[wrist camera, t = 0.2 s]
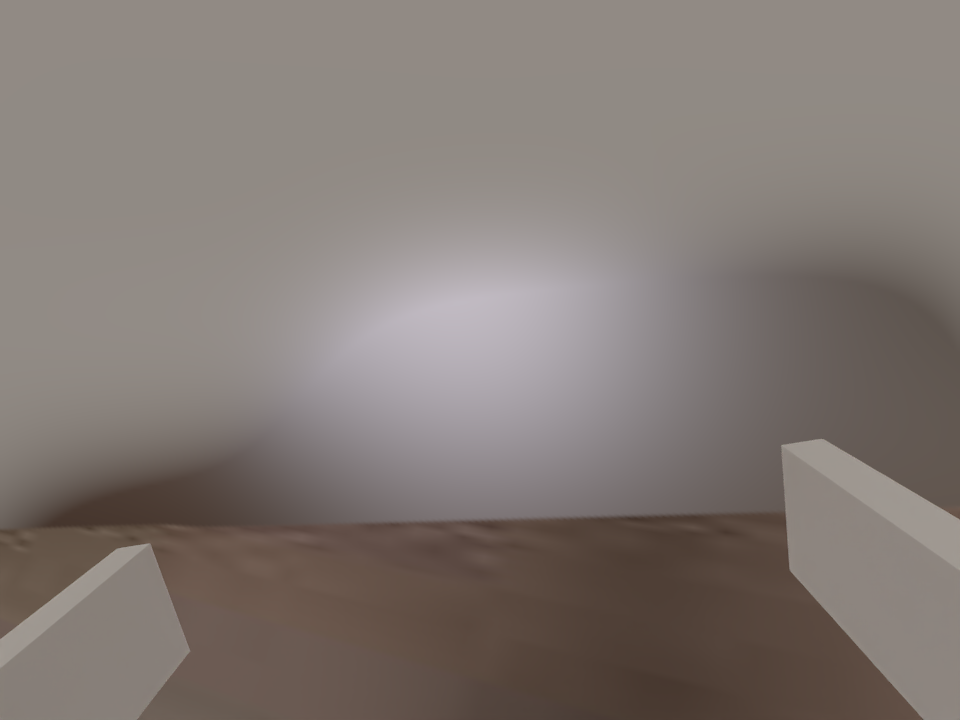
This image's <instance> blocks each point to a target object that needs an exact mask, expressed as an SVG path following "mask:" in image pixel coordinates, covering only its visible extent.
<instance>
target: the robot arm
mask: <svg viewBox="0 0 960 720" xmlns="http://www.w3.org/2000/svg"><path fill="white" fill-rule="evenodd" d="M781 450H782V465H783V478H784V479H783V480H784V494H785V509H786V524H787V539H788V553H789V568H790V571H791V572H792V573H793V574H794V576H795V577H796V578H797V579H798V580H799V581H800V582H801V583H802V584H803V586H804V587H805V588H806V589H807V590H808V591H809V592H810V593H811V594H812V596H813V597H814V598H815V599H816V600H817V601H818V602H819V603H820V605H821V606H822V607H823V608H824V609H825V610H826V611H827V612H828V613H829V615H830V616H831V617H832V618H833V619H834V620H835V621H836V622H837V623H838V625H839V626H840V627H841V628H842V629H843V630H844V631H845V632H846V634H847V635H848V636H849V637H850V638H851V639H852V640H853V641H854V642H855V644H856V645H857V646H858V647H859V648H860V649H861V650H862V651H863V652H864V654H865V655H866V656H867V657H868V658H869V659H870V660H871V661H872V663H873V664H874V665H875V666H876V667H877V668H878V669H879V670H880V671H881V673H882V674H883V675H884V676H885V677H886V678H887V679H888V680H889V682H890V683H891V684H892V685H893V686H894V687H895V688H896V689H897V690H898V692H899V693H900V694H901V695H902V696H903V697H904V698H905V699H906V700H907V702H908V703H909V704H910V705H911V706H912V707H913V708H914V709H915V711H916V712H917V713H918V714H919V715H920V716H921V717H922V718H923V719H924V720H960V520H959V519H958V518H956V517H954V516H953V515H951V514H949V513H948V512H946V511H944V510H942V509H941V508H939V507H937V506H936V505H934V504H932V503H930V502H929V501H927V500H925V499H924V498H922V497H920V496H919V495H917V494H915V493H914V492H912V491H910V490H909V489H907V488H905V487H903V486H902V485H900V484H898V483H897V482H895V481H893V480H892V479H890V478H888V477H887V476H885V475H883V474H881V473H880V472H878V471H876V470H875V469H873V468H871V467H870V466H868V465H866V464H865V463H863V462H861V461H859V460H858V459H856V458H854V457H853V456H851V455H849V454H848V453H846V452H844V451H842V450H841V449H839V448H837V447H836V446H834V445H832V444H831V443H829V442H827V441H825V440H824V439H817V440H811V441H805V442H798V443H792V444H785V445H781ZM189 652H190V650H189V647H188V644H187V642H186V639H185V636H184V634H183V631H182V628H181V626H180V623H179V620H178V617H177V615H176V612H175V609H174V607H173V604H172V601H171V599H170V596H169V593H168V591H167V588H166V585H165V582H164V580H163V577H162V574H161V572H160V569H159V566H158V564H157V561H156V558H155V556H154V553H153V550H152V547H151V545H150V544H143V545H137V546H131V547H124V548H118V549H116V550H115V551H113V552H112V553H111V554H110V555H108V556H107V557H106V558H104V559H103V560H102V561H101V562H99V563H98V564H97V565H95V566H94V567H93V568H92V569H90V570H89V571H88V572H86V573H85V574H84V575H83V576H81V577H80V578H79V579H77V580H76V581H75V582H74V583H72V584H71V585H70V586H68V587H67V588H66V589H65V590H63V591H62V592H61V593H59V594H58V595H57V596H56V597H54V598H53V599H52V600H50V601H49V602H48V603H47V604H45V605H44V606H43V607H41V608H40V609H39V610H37V611H36V612H35V613H34V614H32V615H31V616H30V617H28V618H27V619H26V620H25V621H23V622H22V623H21V624H19V625H18V626H17V627H16V628H14V629H13V630H12V631H10V632H9V633H8V634H7V635H5V636H4V637H3V638H1V639H0V720H137V719H138V717H139V716H140V715H141V713H142V712H143V711H144V710H145V708H146V707H147V706H148V704H149V703H150V702H151V701H152V699H153V698H154V697H155V695H156V694H157V693H158V692H159V690H160V689H161V688H162V686H163V685H164V684H165V683H166V681H167V680H168V679H169V677H170V676H171V675H172V674H173V672H174V671H175V670H176V668H177V667H178V666H179V665H180V663H181V662H182V661H183V659H184V658H185V657H186V656H187V654H188V653H189Z"/></svg>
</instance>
